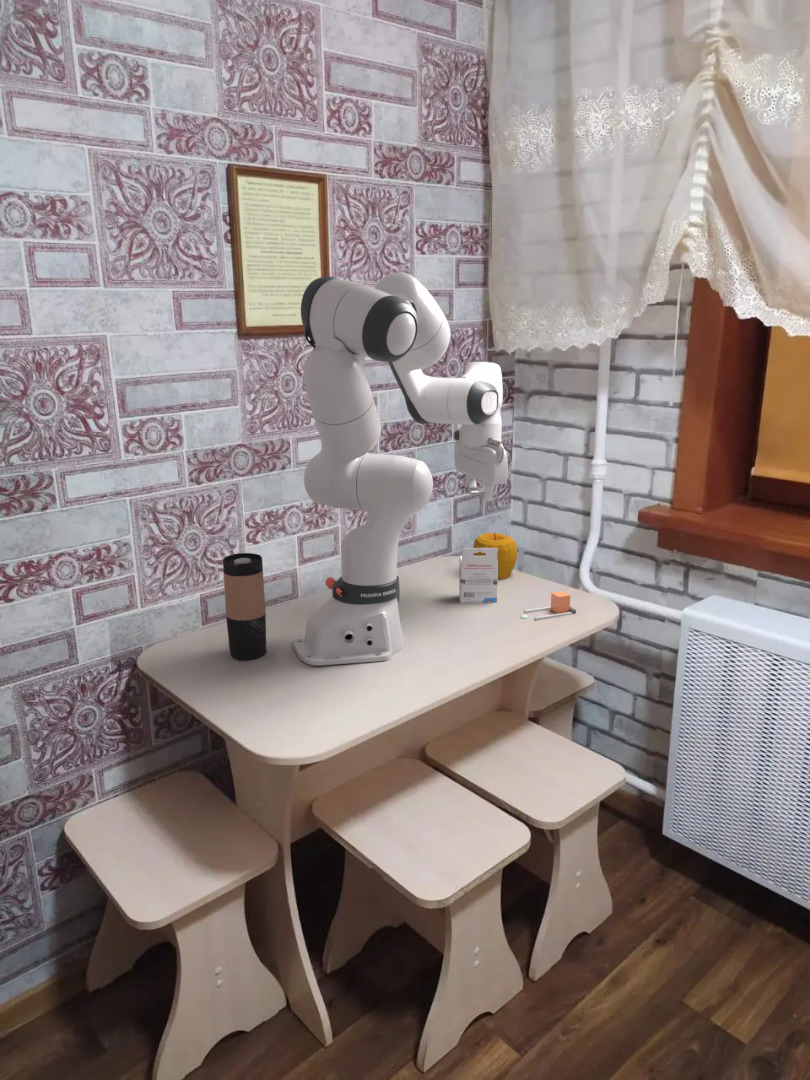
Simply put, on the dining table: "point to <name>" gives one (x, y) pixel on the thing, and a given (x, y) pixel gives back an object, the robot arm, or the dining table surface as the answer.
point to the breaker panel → (572, 611)
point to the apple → (499, 551)
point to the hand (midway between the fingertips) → (479, 497)
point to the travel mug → (245, 606)
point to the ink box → (478, 576)
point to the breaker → (560, 602)
